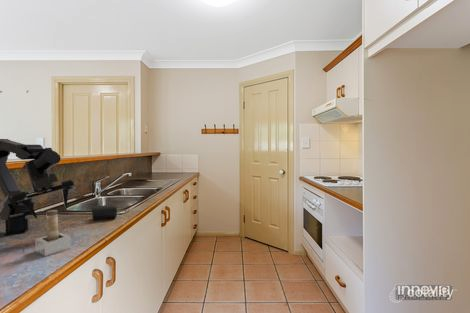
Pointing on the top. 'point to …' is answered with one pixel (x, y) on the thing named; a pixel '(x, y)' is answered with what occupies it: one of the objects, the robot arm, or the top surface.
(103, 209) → the end cap
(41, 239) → the socket block
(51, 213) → the slotted cylinder
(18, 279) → the top surface
